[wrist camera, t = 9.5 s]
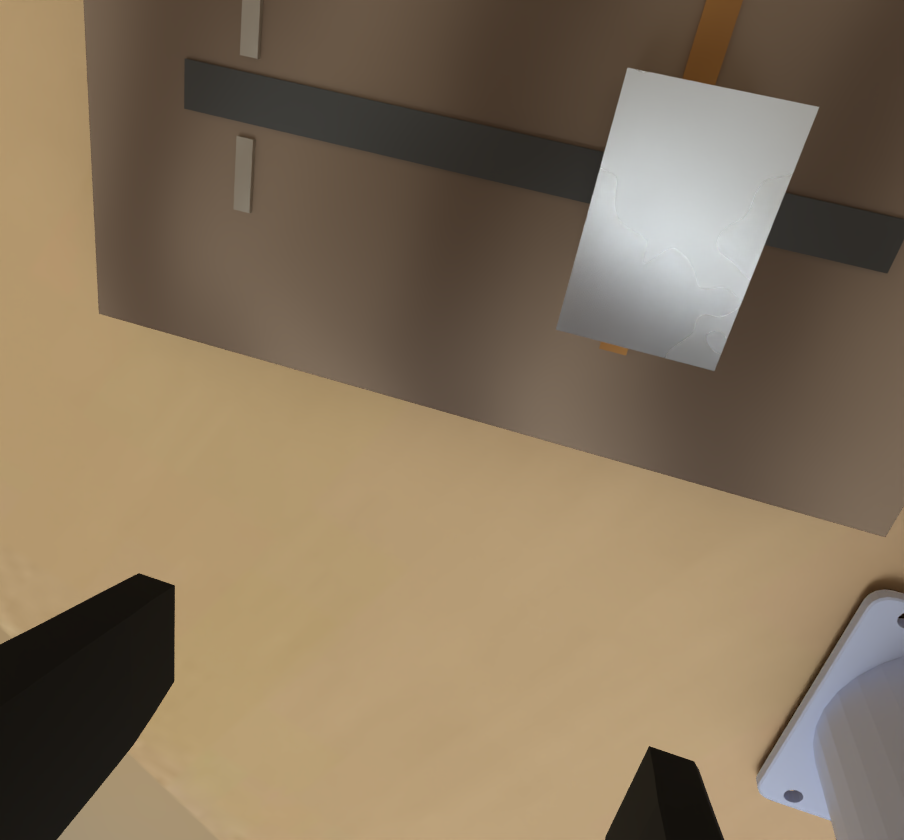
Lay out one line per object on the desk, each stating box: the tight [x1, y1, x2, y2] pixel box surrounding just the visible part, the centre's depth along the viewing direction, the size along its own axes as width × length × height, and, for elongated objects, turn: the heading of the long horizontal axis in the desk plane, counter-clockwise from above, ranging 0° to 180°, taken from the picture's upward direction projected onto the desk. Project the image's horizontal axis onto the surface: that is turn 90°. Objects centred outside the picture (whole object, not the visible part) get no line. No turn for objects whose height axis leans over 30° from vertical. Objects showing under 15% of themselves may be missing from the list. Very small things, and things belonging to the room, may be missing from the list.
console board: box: [84, 0, 904, 537], centre depth 15 cm, size 20×12×2 cm, turn 79°
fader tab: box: [556, 68, 819, 371], centre depth 11 cm, size 2×4×4 cm, turn 169°
